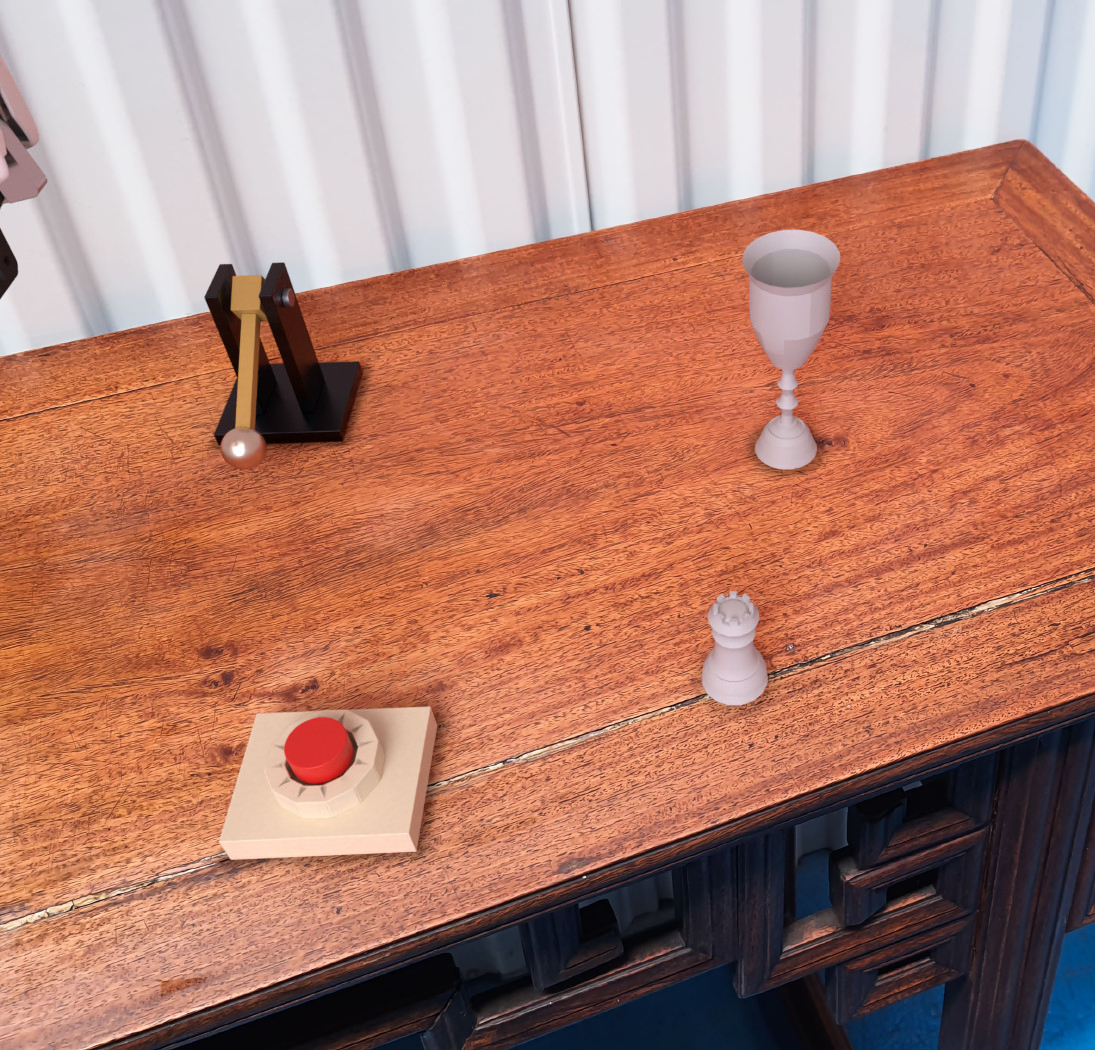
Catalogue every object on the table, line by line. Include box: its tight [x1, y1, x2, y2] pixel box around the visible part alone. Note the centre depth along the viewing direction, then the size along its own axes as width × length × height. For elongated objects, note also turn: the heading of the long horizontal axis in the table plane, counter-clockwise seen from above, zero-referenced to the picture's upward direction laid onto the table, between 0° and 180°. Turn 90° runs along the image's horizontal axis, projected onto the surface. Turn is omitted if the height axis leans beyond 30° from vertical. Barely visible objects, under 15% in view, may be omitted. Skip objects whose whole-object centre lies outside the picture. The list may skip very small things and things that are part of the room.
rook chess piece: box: [701, 590, 769, 706], centre depth 75 cm, size 4×4×8 cm
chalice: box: [741, 229, 841, 471], centre depth 88 cm, size 7×7×18 cm
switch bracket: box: [203, 262, 364, 446], centre depth 93 cm, size 9×10×13 cm
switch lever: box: [220, 274, 268, 471], centre depth 89 cm, size 15×3×3 cm
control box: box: [218, 706, 438, 861], centre depth 71 cm, size 11×9×4 cm
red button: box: [284, 717, 354, 784], centre depth 69 cm, size 4×4×2 cm
